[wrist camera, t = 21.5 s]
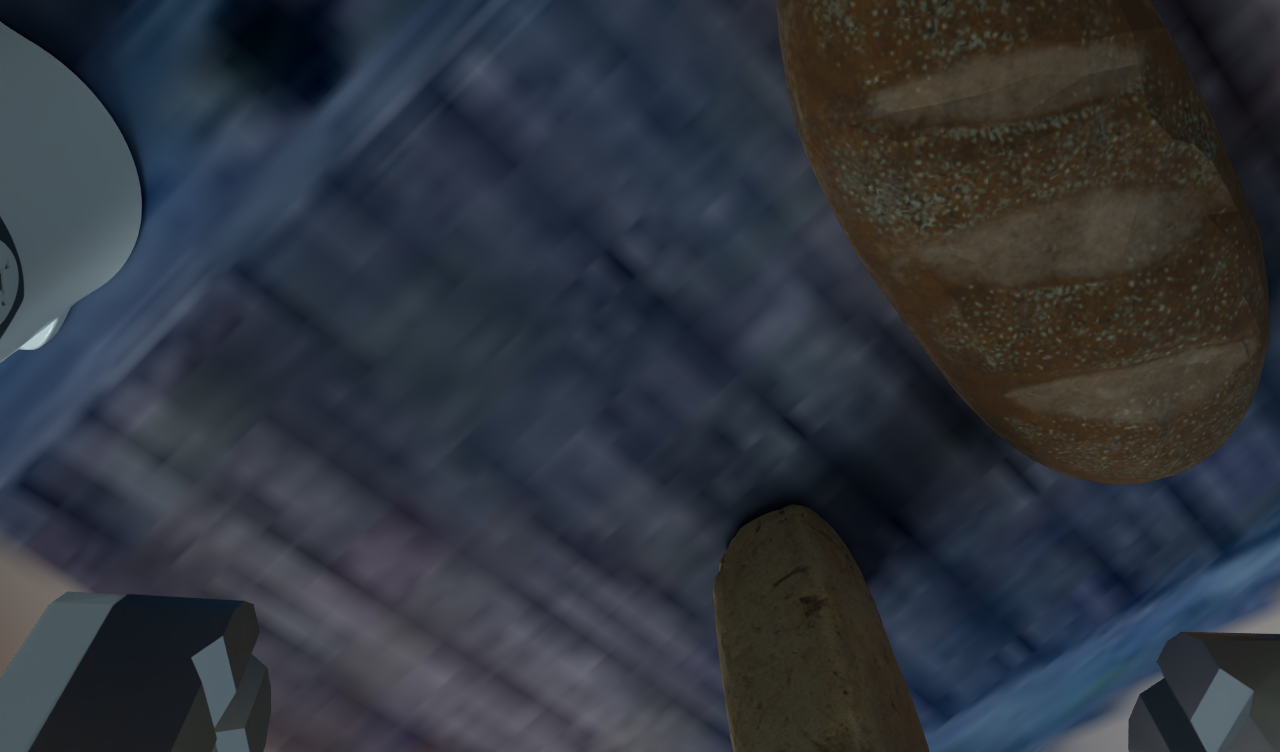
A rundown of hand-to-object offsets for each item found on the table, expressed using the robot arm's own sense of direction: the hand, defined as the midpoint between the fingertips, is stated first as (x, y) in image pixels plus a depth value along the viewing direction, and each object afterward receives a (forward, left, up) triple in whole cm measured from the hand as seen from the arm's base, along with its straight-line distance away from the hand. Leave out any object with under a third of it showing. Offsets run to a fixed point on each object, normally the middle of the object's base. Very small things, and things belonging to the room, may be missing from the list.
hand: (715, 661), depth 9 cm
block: (+12, -35, -39) cm, 54 cm away
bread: (+19, -11, -40) cm, 45 cm away
